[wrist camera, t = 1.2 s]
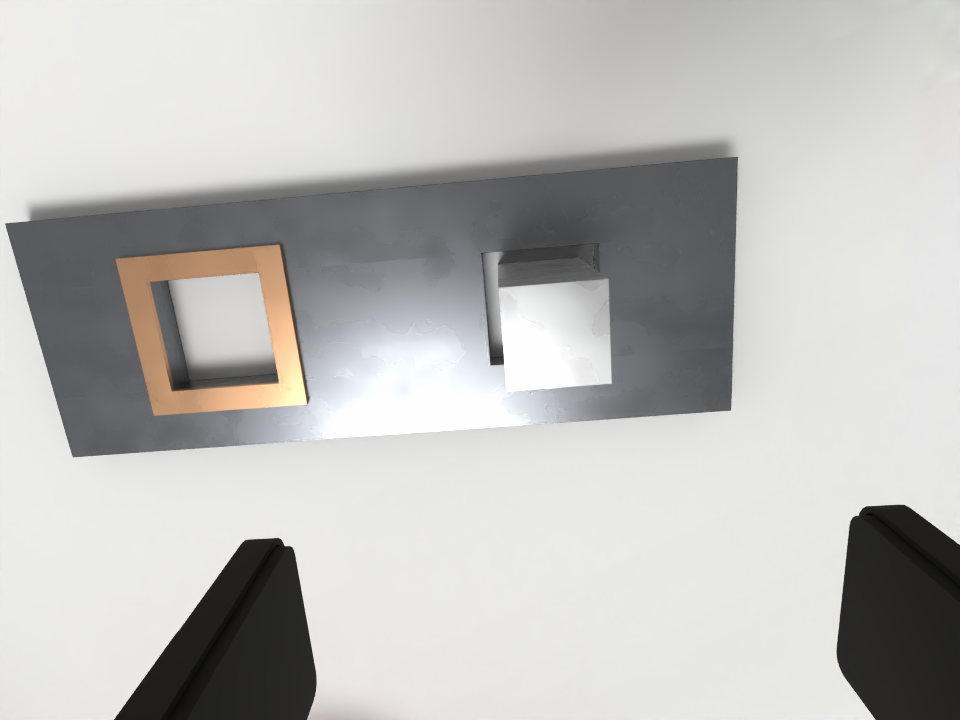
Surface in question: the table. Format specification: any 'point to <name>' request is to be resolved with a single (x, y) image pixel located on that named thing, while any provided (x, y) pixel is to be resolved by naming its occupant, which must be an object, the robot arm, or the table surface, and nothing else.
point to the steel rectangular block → (554, 324)
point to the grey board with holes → (382, 307)
